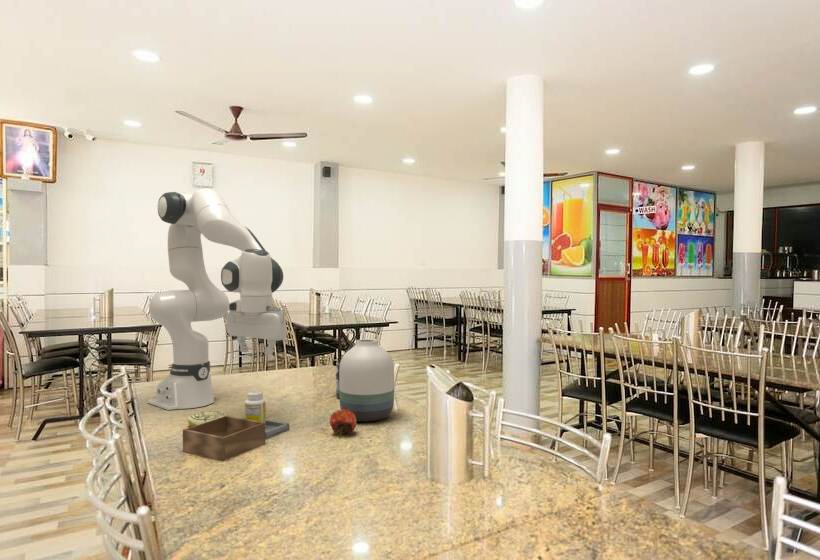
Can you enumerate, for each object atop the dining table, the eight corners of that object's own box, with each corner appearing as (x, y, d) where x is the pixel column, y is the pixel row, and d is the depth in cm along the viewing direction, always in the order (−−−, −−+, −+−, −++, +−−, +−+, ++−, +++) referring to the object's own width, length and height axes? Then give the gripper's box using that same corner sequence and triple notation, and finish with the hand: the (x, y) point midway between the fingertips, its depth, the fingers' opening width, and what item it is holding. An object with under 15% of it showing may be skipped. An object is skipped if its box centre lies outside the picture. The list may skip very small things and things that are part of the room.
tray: (221, 431, 147) (221, 425, 147) (247, 422, 156) (247, 416, 156) (264, 440, 139) (264, 433, 139) (289, 429, 148) (289, 423, 148)
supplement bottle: (258, 424, 152) (257, 389, 151) (269, 427, 148) (269, 392, 148) (241, 428, 147) (240, 393, 147) (252, 432, 144) (252, 396, 143)
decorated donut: (201, 434, 145) (201, 421, 145) (180, 427, 151) (180, 414, 151) (233, 425, 153) (233, 412, 153) (212, 419, 160) (212, 406, 160)
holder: (182, 451, 131) (182, 429, 131) (226, 435, 143) (226, 415, 143) (223, 461, 124) (223, 438, 124) (265, 443, 137) (265, 422, 137)
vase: (401, 412, 166) (401, 338, 166) (381, 428, 150) (381, 345, 150) (353, 408, 172) (353, 335, 171) (329, 422, 156) (329, 342, 155)
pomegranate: (355, 445, 142) (363, 415, 149) (346, 429, 137) (355, 399, 145) (330, 446, 144) (340, 416, 151) (321, 430, 140) (331, 400, 147)
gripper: (291, 306, 147) (291, 355, 147) (239, 303, 156) (239, 348, 157) (276, 308, 141) (276, 358, 142) (222, 304, 151) (222, 351, 151)
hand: (256, 353), depth 149 cm, fingers open, 8 cm apart
